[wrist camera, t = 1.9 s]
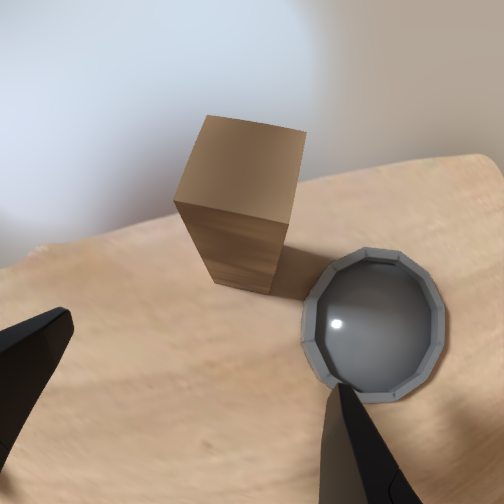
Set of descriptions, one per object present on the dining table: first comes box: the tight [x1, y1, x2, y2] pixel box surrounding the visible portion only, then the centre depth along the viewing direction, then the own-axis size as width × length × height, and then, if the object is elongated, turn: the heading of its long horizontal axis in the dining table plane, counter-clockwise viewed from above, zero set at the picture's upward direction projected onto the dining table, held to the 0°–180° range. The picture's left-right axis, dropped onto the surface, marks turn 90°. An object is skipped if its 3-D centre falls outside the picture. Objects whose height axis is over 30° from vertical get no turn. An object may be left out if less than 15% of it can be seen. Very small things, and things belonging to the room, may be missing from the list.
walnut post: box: [173, 115, 306, 295], centre depth 17 cm, size 4×4×13 cm
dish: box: [300, 247, 445, 403], centre depth 21 cm, size 11×11×2 cm
